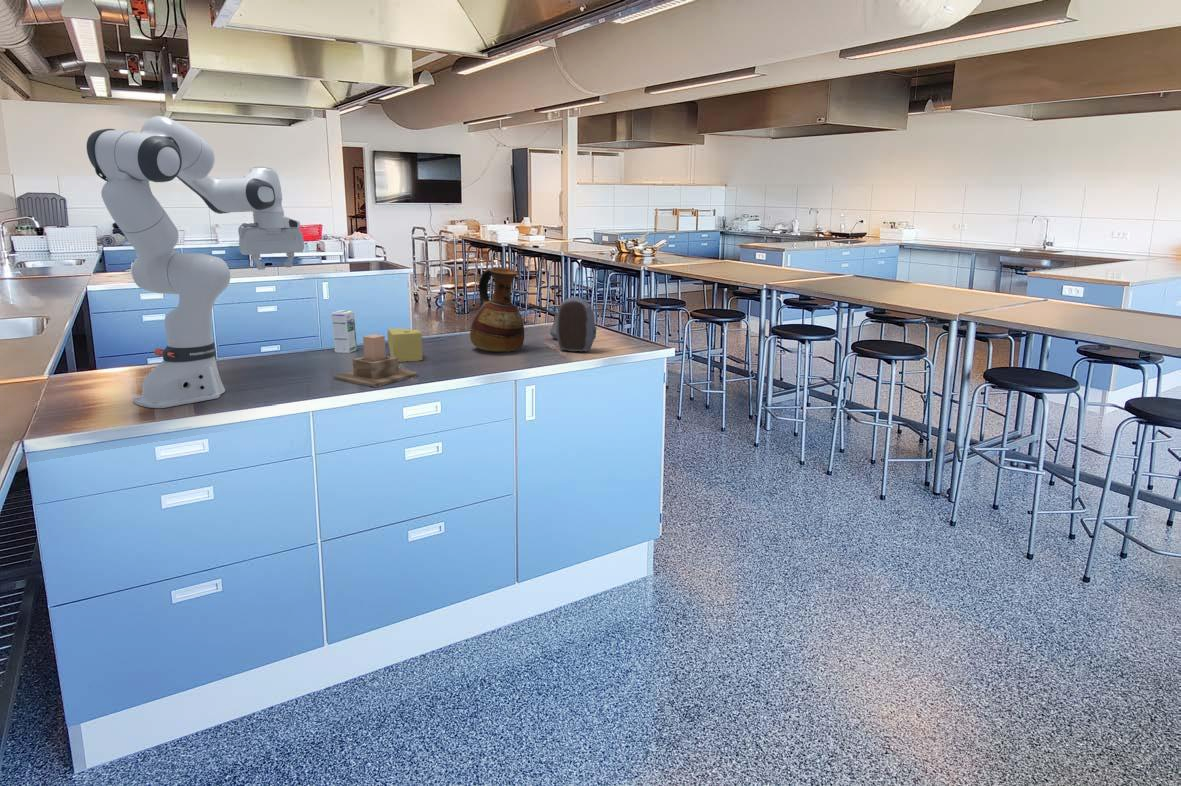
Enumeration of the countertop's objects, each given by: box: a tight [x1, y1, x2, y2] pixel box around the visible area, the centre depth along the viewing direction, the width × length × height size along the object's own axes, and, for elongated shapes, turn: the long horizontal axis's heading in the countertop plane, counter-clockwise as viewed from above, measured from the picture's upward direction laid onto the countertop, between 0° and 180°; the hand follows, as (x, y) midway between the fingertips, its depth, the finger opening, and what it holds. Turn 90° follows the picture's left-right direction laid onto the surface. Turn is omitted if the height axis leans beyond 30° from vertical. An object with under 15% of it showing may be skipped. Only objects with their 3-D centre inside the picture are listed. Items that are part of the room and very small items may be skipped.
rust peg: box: [362, 333, 387, 362], centre depth 227 cm, size 4×4×12 cm
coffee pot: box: [526, 302, 560, 340], centre depth 289 cm, size 21×12×15 cm, turn 115°
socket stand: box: [332, 355, 419, 388], centre depth 228 cm, size 18×18×6 cm
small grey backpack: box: [556, 296, 597, 353], centre depth 269 cm, size 15×8×20 cm, turn 72°
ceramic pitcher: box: [469, 267, 525, 353], centre depth 267 cm, size 20×20×30 cm
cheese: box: [387, 327, 423, 363], centre depth 253 cm, size 10×11×10 cm
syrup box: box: [331, 309, 358, 354], centre depth 262 cm, size 6×6×14 cm
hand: (275, 268), depth 229 cm, fingers open, 8 cm apart
